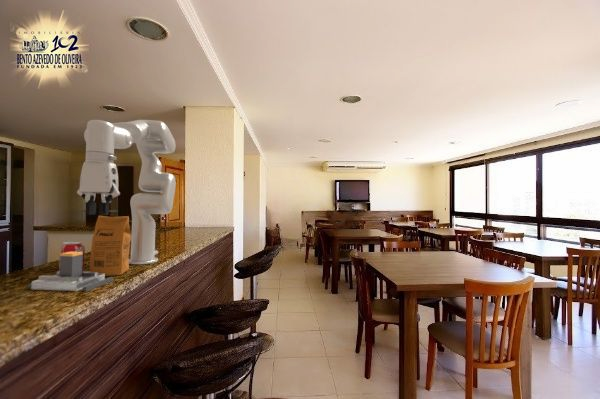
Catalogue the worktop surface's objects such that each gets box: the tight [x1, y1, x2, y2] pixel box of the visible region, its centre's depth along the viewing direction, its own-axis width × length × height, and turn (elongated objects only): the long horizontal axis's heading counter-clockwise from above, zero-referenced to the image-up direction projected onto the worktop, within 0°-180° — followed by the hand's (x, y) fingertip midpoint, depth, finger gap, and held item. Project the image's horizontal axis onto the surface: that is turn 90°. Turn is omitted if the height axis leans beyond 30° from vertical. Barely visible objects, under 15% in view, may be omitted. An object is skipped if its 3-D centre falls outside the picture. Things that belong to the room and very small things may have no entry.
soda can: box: [58, 241, 86, 272], centre depth 103 cm, size 7×7×12 cm
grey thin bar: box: [81, 276, 115, 292], centre depth 91 cm, size 12×1×1 cm, turn 179°
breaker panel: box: [30, 270, 106, 292], centre depth 91 cm, size 12×14×3 cm
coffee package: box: [89, 215, 131, 277], centre depth 107 cm, size 10×12×22 cm
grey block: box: [59, 252, 83, 277], centre depth 92 cm, size 4×4×8 cm
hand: (97, 214), depth 92 cm, fingers open, 3 cm apart
